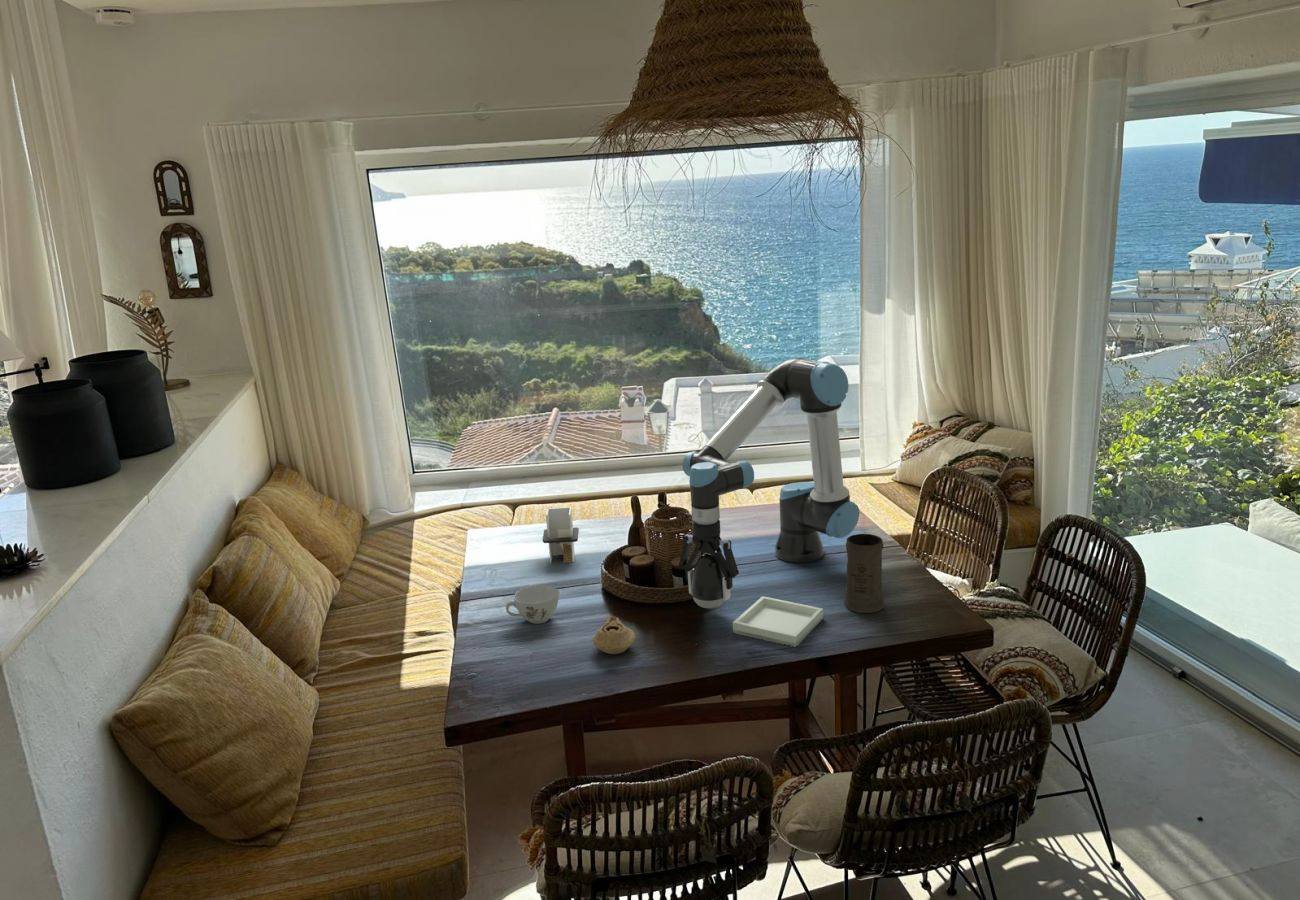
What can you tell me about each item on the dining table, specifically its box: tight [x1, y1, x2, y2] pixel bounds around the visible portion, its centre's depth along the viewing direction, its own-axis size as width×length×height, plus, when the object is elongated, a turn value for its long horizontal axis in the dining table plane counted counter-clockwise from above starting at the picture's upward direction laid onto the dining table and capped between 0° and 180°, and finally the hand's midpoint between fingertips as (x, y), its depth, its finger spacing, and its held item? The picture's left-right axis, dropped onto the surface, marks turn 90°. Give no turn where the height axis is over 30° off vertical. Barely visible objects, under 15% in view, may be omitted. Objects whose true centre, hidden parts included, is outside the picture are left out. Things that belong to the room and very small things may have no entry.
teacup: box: [505, 584, 560, 625], centre depth 262 cm, size 15×12×8 cm
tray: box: [732, 595, 824, 648], centre depth 252 cm, size 18×18×3 cm
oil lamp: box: [592, 616, 637, 655], centre depth 244 cm, size 11×15×8 cm
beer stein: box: [843, 533, 885, 614], centre depth 261 cm, size 15×11×20 cm
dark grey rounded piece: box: [690, 552, 725, 609], centre depth 259 cm, size 10×10×15 cm
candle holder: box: [542, 506, 580, 564], centre depth 303 cm, size 25×24×16 cm
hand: (709, 595), depth 260 cm, fingers closed on dark grey rounded piece, 10 cm apart
